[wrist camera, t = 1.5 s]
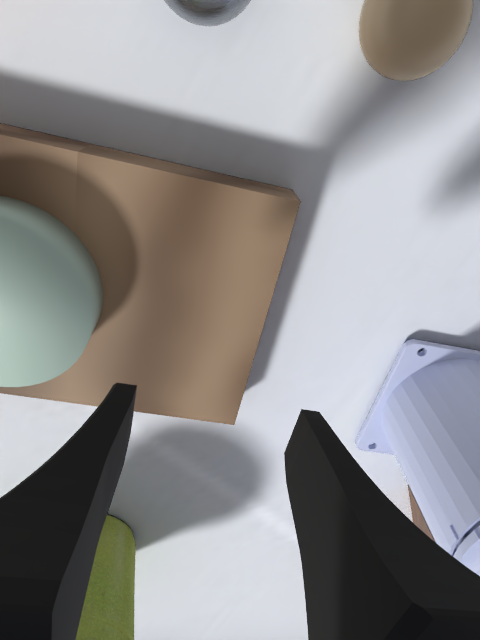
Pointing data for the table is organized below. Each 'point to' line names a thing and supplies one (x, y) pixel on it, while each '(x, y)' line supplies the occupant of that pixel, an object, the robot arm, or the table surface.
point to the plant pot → (110, 586)
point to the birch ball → (412, 35)
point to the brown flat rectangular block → (158, 270)
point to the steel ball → (207, 10)
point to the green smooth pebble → (43, 295)
